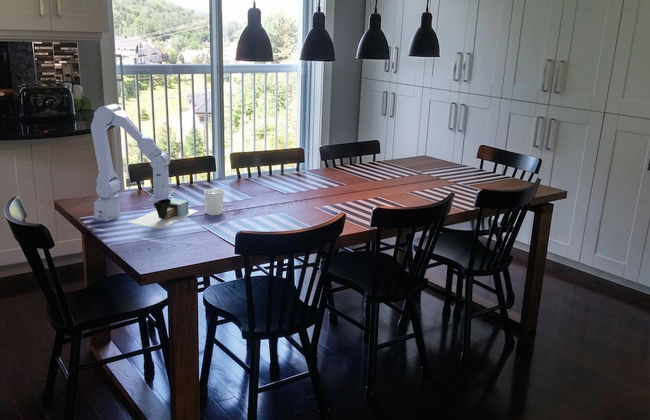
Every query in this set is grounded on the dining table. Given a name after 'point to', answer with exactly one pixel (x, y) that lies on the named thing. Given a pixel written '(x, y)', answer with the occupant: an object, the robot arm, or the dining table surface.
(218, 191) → the white cup
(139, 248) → the dining table surface
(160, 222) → the board
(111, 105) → the robot arm
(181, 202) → the teal block
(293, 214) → the dining table surface
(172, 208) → the slat
